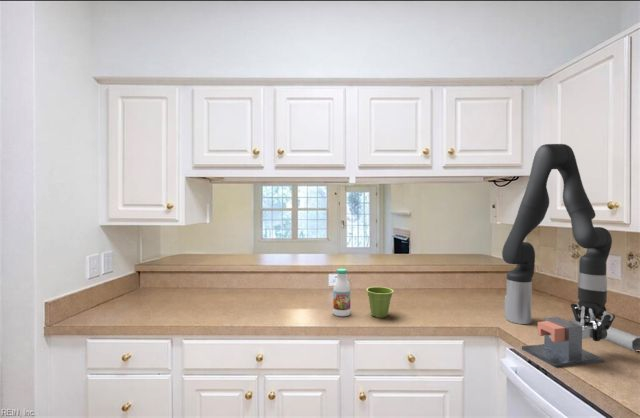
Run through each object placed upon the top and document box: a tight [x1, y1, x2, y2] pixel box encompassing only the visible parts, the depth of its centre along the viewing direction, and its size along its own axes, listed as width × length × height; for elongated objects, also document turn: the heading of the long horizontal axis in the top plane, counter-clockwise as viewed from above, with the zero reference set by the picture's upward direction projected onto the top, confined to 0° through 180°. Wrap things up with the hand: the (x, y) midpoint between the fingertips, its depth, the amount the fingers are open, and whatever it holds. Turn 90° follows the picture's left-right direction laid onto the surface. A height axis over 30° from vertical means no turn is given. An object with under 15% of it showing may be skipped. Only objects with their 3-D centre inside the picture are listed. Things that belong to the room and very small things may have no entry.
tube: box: [571, 316, 640, 353], centre depth 127 cm, size 5×5×25 cm
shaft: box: [549, 322, 607, 341], centre depth 113 cm, size 6×18×6 cm, turn 101°
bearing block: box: [521, 316, 605, 368], centre depth 111 cm, size 13×18×11 cm
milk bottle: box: [332, 268, 351, 317], centre depth 152 cm, size 8×8×20 cm
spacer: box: [537, 320, 565, 342], centre depth 110 cm, size 6×4×4 cm, turn 12°
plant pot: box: [366, 286, 394, 318], centre depth 151 cm, size 12×12×11 cm
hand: (591, 338), depth 114 cm, fingers closed on shaft, 3 cm apart
